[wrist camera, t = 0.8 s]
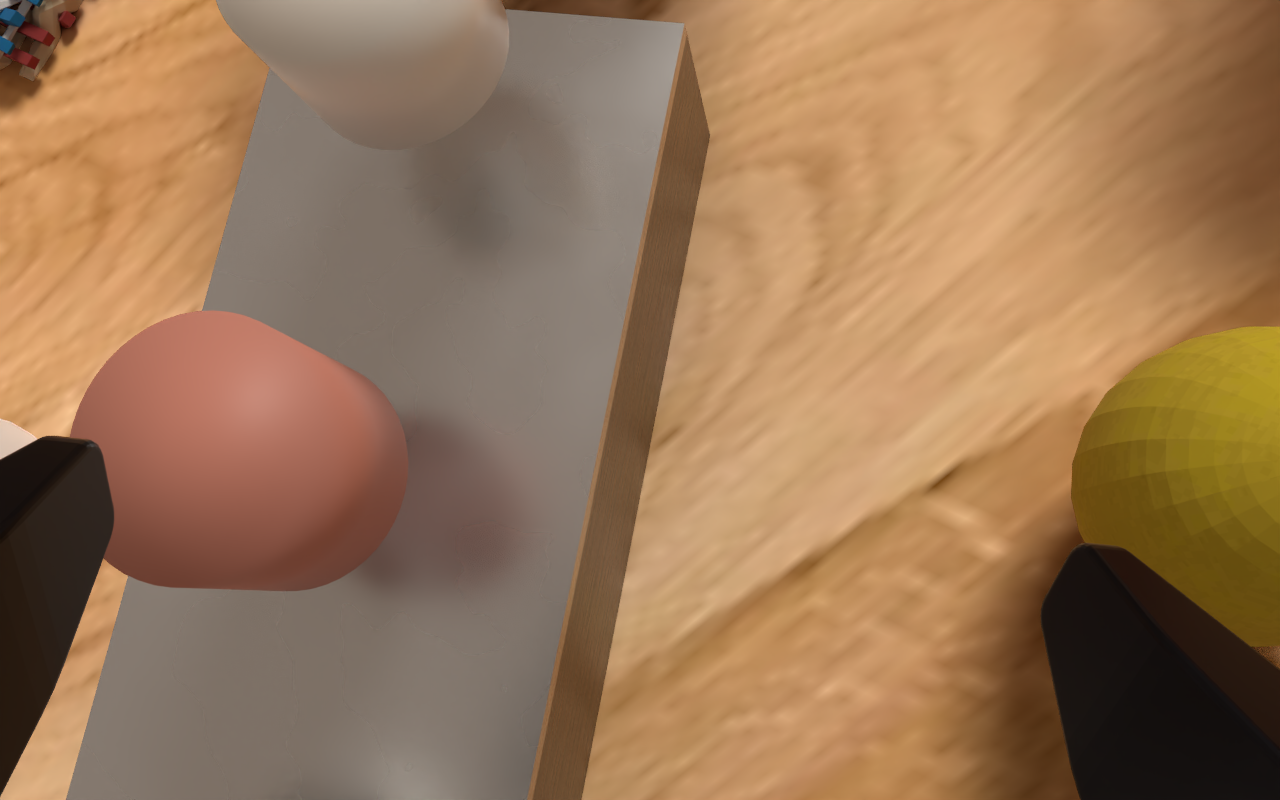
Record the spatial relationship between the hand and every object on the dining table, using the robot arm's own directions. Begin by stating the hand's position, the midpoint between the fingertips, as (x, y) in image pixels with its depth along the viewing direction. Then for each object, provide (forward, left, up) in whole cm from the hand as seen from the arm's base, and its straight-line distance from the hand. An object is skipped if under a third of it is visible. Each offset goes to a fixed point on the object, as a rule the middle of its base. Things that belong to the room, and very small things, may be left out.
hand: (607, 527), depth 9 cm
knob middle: (0, +7, -7) cm, 10 cm away
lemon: (+3, -9, -14) cm, 17 cm away
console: (0, +7, -14) cm, 16 cm away
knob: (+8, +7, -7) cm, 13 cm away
